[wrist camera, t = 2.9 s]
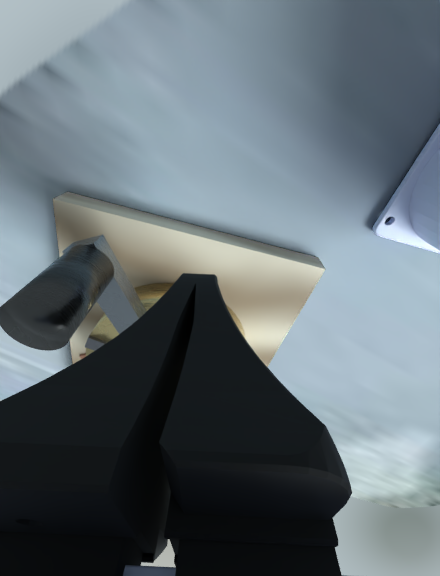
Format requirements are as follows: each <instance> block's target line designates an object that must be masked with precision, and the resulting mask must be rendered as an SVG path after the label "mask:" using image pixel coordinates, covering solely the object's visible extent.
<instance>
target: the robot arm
mask: <svg viewBox="0 0 440 576" xmlns="http://www.w3.org/2000/svg"><path fill="white" fill-rule="evenodd" d="M388 217H391V219H390V221H389V222H387V223H385V220H386V219H387V218H388ZM373 232H374V234H376V235H377V236H379V237H383V238H386V239H390V240H393V241H397V242H400V243H404V244H407V245H411V246H414V247H418V248H421V249H425V250H428V251H432V252H435V253H439V254H440V124H439V125H438V127H437V128H436V130H435V131H434V133H433V134H432V136H431V137H430V139H429V141H428V142H427V144H426V145H425V147H424V148H423V150H422V151H421V153H420V154H419V156H418V158H417V159H416V161H415V162H414V164H413V165H412V167H411V168H410V170H409V171H408V173H407V175H406V176H405V178H404V179H403V181H402V182H401V184H400V185H399V187H398V188H397V190H396V192H395V193H394V195H393V196H392V198H391V199H390V201H389V202H388V204H387V205H386V207H385V209H384V210H383V212H382V213H381V215H380V216H379V218H378V219H377V221H376V222H375V224H374V226H373ZM351 494H352V490H351V486H350V482H349V479H348V476H347V472H346V470H345V467H344V464H343V462H342V460H341V457H340V455H339V453H338V451H337V448H336V446H335V444H334V442H333V440H332V438H331V436H330V434H329V432H328V430H327V428H326V426H325V425H324V424H323V423H322V422H321V421H320V420H319V419H318V418H316V417H315V416H314V415H313V414H312V413H311V412H310V411H309V410H308V409H307V408H306V407H305V406H304V405H303V404H301V403H300V402H299V401H298V400H297V399H296V398H295V397H294V396H293V395H292V394H291V393H290V392H289V391H288V390H287V389H286V388H285V386H284V385H283V384H282V383H281V382H280V381H279V380H278V379H277V378H276V377H275V376H274V375H273V373H272V372H271V371H270V370H269V369H268V368H267V366H266V365H265V364H264V363H263V362H262V361H261V359H260V358H259V357H258V356H257V354H256V353H255V352H254V350H253V349H252V348H251V346H250V345H249V344H248V342H247V341H246V339H245V338H244V336H243V335H242V333H241V332H240V330H239V329H238V327H237V325H236V323H235V322H234V320H233V318H232V316H231V314H230V312H229V310H228V308H227V306H226V304H225V302H224V299H223V297H222V294H221V292H220V289H219V285H218V280H217V276H216V275H215V274H192V273H183V274H182V275H181V276H180V277H179V278H178V279H177V280H176V282H175V283H174V284H173V285H172V286H171V287H170V288H169V289H168V291H167V292H166V293H165V294H164V295H163V296H162V297H161V298H160V299H159V300H158V301H157V302H156V303H155V304H154V305H153V306H152V307H151V308H150V309H149V310H148V311H147V312H145V313H144V314H143V315H142V316H141V317H140V318H139V319H138V320H137V321H135V322H134V323H133V324H132V325H131V326H129V327H128V328H127V329H126V330H124V331H123V332H122V333H120V334H119V335H118V336H116V337H115V338H113V339H112V340H110V341H109V342H107V343H106V344H104V345H103V346H101V347H100V348H98V349H97V350H95V351H94V352H92V353H91V354H89V355H88V356H86V357H84V358H83V359H81V360H79V361H77V362H76V363H74V364H72V365H71V366H69V367H67V368H65V369H63V370H62V371H60V372H58V373H56V374H54V375H52V376H51V377H49V378H47V379H45V380H43V381H41V382H39V383H37V384H35V385H33V386H31V387H29V388H27V389H25V390H23V391H21V392H19V393H17V394H15V395H12V396H10V397H8V398H6V399H4V400H2V401H0V576H346V575H341V572H340V567H339V563H338V559H337V555H336V551H335V547H336V546H338V538H337V534H336V530H335V526H334V522H333V519H332V518H333V517H334V516H335V514H336V513H338V512H339V511H340V509H341V508H343V507H344V506H345V504H346V503H347V501H348V500H349V498H350V496H351ZM168 539H170V541H171V544H172V547H173V550H174V553H175V559H174V563H175V566H176V568H174V567H154V566H141V562H148V563H153V562H154V560H155V559H156V558H157V557H158V556H159V555H160V554H161V553H162V551H163V550H164V549H165V548H166V546H167V540H168Z"/></svg>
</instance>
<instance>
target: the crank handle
mask: <svg viewBox="0 0 440 576" xmlns="http://www.w3.org/2000/svg"><path fill="white" fill-rule="evenodd" d="M62 252H63V255H62V256H61V257H59V258H58V259H57V260H56V261H55V262H53V263H52V264H51V265H50V266H49V267H47V268H46V269H45V270H44V271H43V272H41V273H40V274H39V275H38V276H37V277H36V278H34V279H33V280H32V281H31V282H30V283H28V284H27V285H26V286H25V287H24V288H22V289H21V290H20V291H19V292H18V293H16V294H15V295H14V296H13V297H12V298H11V299H9V300H8V301H7V302H6V303H5V304H3V305H2V306H1V307H0V326H1V327H2V328H3V330H4V331H5V332H6V333H7V334H8V335H9V336H11V337H12V338H13V339H15V340H16V341H18V342H20V343H22V344H24V345H26V346H29V347H32V348H35V349H39V350H56V349H60V348H62V347H64V346H65V345H66V344H67V343H68V341H69V340H70V338H71V337H72V335H73V334H74V333H75V331H76V330H77V328H78V327H79V326H80V324H81V323H82V321H83V320H84V319H85V317H86V316H87V314H88V313H89V311H90V310H91V309H92V307H93V306H94V304H95V303H96V302H97V303H98V304H99V306H100V307H101V309H102V310H103V311H104V314H103V315H102V317H101V318H100V320H99V322H98V323H97V325H96V326H95V328H94V329H93V331H92V332H91V334H90V335H89V337H88V339H87V342H86V344H85V347H86V356H88V355H89V354H91V353H92V352H94V351H95V350H97V349H98V348H100V347H101V346H103V345H104V344H106V343H107V342H109V341H110V340H112V339H113V338H115V337H116V336H118V335H119V334H120V333H122V332H123V331H124V330H126V329H127V328H128V327H129V326H131V325H132V324H133V323H134V322H135V321H137V320H138V319H139V318H140V317H141V316H142V315H143V314H144V313H145V312H147V311H148V310H149V309H150V308H151V307H152V306H153V305H154V304H155V303H156V302H157V301H158V300H159V299H160V298H161V297H162V296H163V295H164V294H165V293H166V292H167V291H168V289H169V288H170V287H171V286H172V285H173V283H154V284H147V285H142V286H139V287H135V288H133V286H132V284H131V283H130V281H129V279H128V277H127V276H126V274H125V272H124V270H123V268H122V267H121V265H120V263H119V261H118V260H117V258H116V256H115V254H114V253H113V251H112V249H111V247H110V245H109V244H108V242H107V240H106V238H105V237H104V235H103V234H102V235H98V236H95V237H91V238H87V239H83V240H80V241H76V242H73V243H72V244H71V245H69V246H68V247H67V248H66V249H64V250H63V251H62ZM226 306H227V305H226ZM227 308H228V310H229V312H230V314H231V316H232V318H233V320H234V322H235V323H236V325H237V327H238V329H239V330H240V332H241V333H242V335H243V336H244V338H245V333H244V329H243V326H242V324H241V322H240V320H239V319H238V317H237V316H236V314H235V313H234V312H233V311H232V309H230V308H229V307H228V306H227Z"/></svg>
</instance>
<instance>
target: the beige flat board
mask: <svg viewBox="0 0 440 576" xmlns="http://www.w3.org/2000/svg"><path fill="white" fill-rule="evenodd" d="M53 206H54V215H55V223H56V231H57V239H58V248H59V256H60V257H61V256H62V255H63V252H62V251H63V250H64V249H66V248H67V247H68V246H69V245H71V244H72V243H73V242H76V241H80V240H83V239H87V238H91V237H95V236H98V235H102V234H103V235H104V237H105V238H106V240H107V242H108V244H109V245H110V247H111V249H112V251H113V253H114V254H115V256H116V258H117V260H118V261H119V263H120V265H121V267H122V268H123V270H124V272H125V274H126V276H127V277H128V279H129V281H130V283H131V284H132V286H133V288H135V287H139V286H142V285H147V284H154V283H173V284H174V283H175V282H176V280H177V279H178V278H179V277H180V276H181V275H182V274H183V273H192V274H215V275H216V276H217V280H218V285H219V289H220V292H221V294H222V297H223V299H224V302H225V304H226V305H227V306H228V307H229V308H230V309H232V311H233V312H234V313H235V314H236V316H237V317H238V319H239V320H240V322H241V324H242V326H243V329H244V333H245V339H246V341H247V342H248V344H249V345H250V346H251V348H252V349H253V350H254V352H255V353H256V354H257V356H258V357H259V358H260V359H261V361H262V362H263V363H264V364H265V365H266V366H267V367H268V365H269V363H270V362H271V360H272V358H273V357H274V355H275V353H276V352H277V350H278V348H279V347H280V345H281V343H282V342H283V340H284V338H285V337H286V335H287V333H288V331H289V330H290V328H291V326H292V325H293V323H294V321H295V320H296V318H297V316H298V315H299V313H300V311H301V310H302V308H303V306H304V305H305V303H306V301H307V299H308V298H309V296H310V294H311V293H312V291H313V289H314V288H315V286H316V284H317V283H318V281H319V279H320V278H321V276H322V274H323V273H324V271H325V267H324V266H323V264H322V263H321V261H320V260H319V258H318V257H314V256H310V255H306V254H303V253H299V252H295V251H291V250H287V249H284V248H280V247H276V246H272V245H268V244H265V243H261V242H257V241H253V240H249V239H246V238H242V237H238V236H234V235H230V234H227V233H223V232H219V231H215V230H211V229H208V228H204V227H200V226H196V225H192V224H189V223H185V222H181V221H177V220H173V219H170V218H166V217H162V216H158V215H154V214H151V213H147V212H143V211H139V210H135V209H132V208H128V207H124V206H120V205H116V204H113V203H109V202H105V201H101V200H97V199H94V198H90V197H86V196H82V195H78V194H75V193H71V192H66V193H64V194H61V195H59V196H57V197H55V198H53ZM103 314H104V311H103V310H102V309H101V307H100V306H99V304H98V303H97V302H96V303H95V304H94V306H93V307H92V309H91V310H90V311H89V313H88V314H87V316H86V317H85V319H84V320H83V321H82V323H81V324H80V326H79V327H78V328H77V330H76V331H75V333H74V334H73V335H72V337H71V338H70V346H71V355H72V363H73V364H74V363H76V362H77V361H79V360H81V359H83V358H84V357H86V347H85V344H86V342H87V339H88V337H89V335H90V334H91V332H92V331H93V329H94V328H95V326H96V325H97V323H98V322H99V320H100V318H101V317H102V315H103Z"/></svg>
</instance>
